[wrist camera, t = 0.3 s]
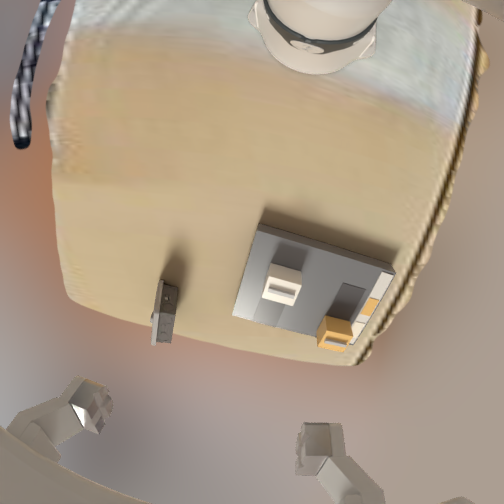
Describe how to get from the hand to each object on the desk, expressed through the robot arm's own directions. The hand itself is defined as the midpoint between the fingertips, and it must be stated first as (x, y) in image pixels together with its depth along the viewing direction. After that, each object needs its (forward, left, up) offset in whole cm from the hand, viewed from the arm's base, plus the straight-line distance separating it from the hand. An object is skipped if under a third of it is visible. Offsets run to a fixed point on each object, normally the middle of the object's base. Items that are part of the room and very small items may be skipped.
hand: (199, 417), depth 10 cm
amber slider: (+20, +18, -34) cm, 44 cm away
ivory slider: (+13, +6, -34) cm, 37 cm away
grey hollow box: (+27, -12, -38) cm, 48 cm away
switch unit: (+15, +12, -37) cm, 42 cm away
